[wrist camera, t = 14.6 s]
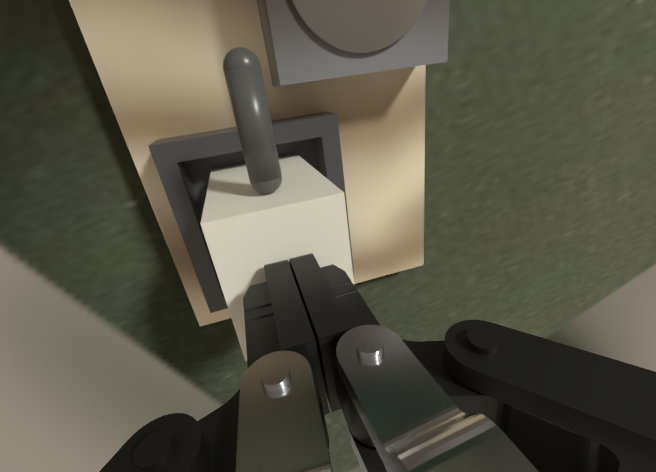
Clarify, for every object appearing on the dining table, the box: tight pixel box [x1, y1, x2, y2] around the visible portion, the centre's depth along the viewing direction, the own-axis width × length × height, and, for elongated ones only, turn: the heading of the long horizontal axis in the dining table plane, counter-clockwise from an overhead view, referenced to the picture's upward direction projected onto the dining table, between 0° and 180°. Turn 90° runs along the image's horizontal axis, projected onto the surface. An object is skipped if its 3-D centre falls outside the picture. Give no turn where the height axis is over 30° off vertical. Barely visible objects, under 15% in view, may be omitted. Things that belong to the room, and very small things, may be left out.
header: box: [148, 112, 354, 313], centre depth 15 cm, size 8×8×2 cm
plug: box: [200, 47, 354, 361], centre depth 12 cm, size 10×4×7 cm, turn 8°
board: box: [69, 0, 450, 326], centre depth 14 cm, size 20×14×4 cm
